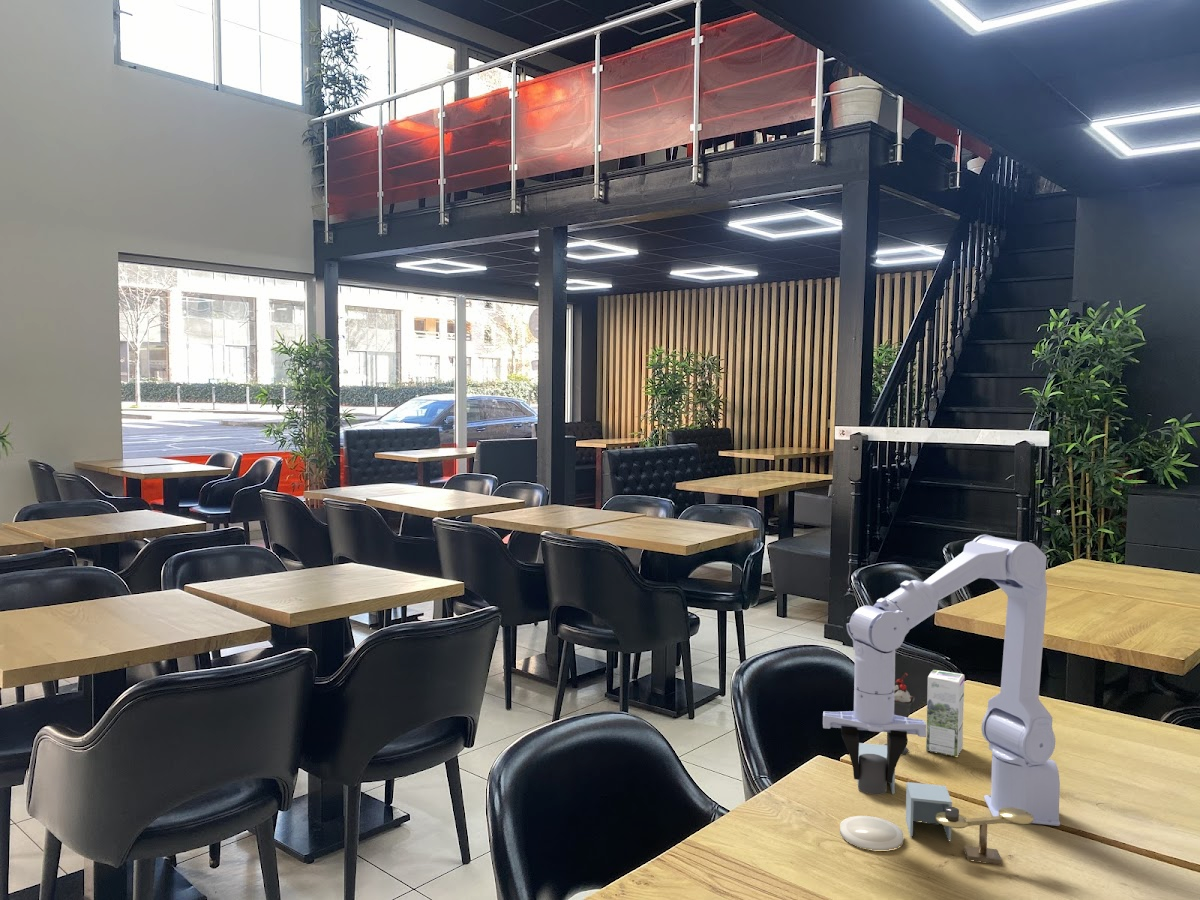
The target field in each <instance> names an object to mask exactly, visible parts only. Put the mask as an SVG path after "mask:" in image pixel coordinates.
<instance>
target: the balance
mask: <svg viewBox="0 0 1200 900" xmlns="http://www.w3.org/2000/svg"><path fill="white" fill-rule="evenodd" d="M936 821H937V822H938V823H940V824H942V826H943V825H944V826H947V827H950V828H951V829H965V828H968V827H972V826H973V827H974V826H979V829H978V833H979V835H978V836H979V837H978V839H979V840H978V846H969V845H964V847H963V850H965V851H964V854H965V853H966V854H965V856H967V857H966V858H968V859H967V861H968V860H974V861H981V862H980V863H982V862H986V863H985V864H990V863H994V864H993V865H999V864H1001V865H1002V864H1003V859H1002V857H1001V855H1000V853H999V850H998V849H997V848H989V847H988V844H987V843H988V825H995V824H996V825H997V824H1008V823H1014V824H1018V825H1019V824H1020V825H1028V824H1032V823H1031V822H1033V816H1032V815H1031V814H1030V813H1029V812H1027V811H1025V810H1022V809H1018V808H1012V807H1004V808H1001V809H999V816H994V817H993V816H985V817H984V816H983V817H973V818H967V817H966V816H964V815H962V814H960V809H959V808H957V807H955V806H952V807H946V809H945V812H940V813H937V814H936ZM974 861H973V862H974ZM1001 865H1000V866H1001Z"/></svg>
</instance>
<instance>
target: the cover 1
mask: <svg viewBox="0 0 1200 900" xmlns="http://www.w3.org/2000/svg"><path fill="white" fill-rule="evenodd" d="M862 754H876V755H880V756H883V757H884V758H886V759H887V745H884V744H874V743H864V742H859V756H860V755H862ZM859 756H858V761H859ZM895 775H896V769H895V770H894V774H893V778H892V783H889V786H890V790H891V793H892V794H893V795H895V793H896V792H895V787H896V782H895V780H896V777H895ZM856 781H857V784H858V780H856ZM857 788H858V787H857ZM858 791H860V792H862V791H861V790H860V789H859V788H858Z"/></svg>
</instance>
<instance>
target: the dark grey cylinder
mask: <svg viewBox="0 0 1200 900" xmlns="http://www.w3.org/2000/svg"><path fill="white" fill-rule="evenodd" d="M857 788H859V789H860V790H861V791H860V792H863V793H866V794H870V795H876V796H877V795H883V794H885V793H887V759H886V758H884V757H883V756H880V755H876V754H862V755H860V756H859V780H858V783H857ZM859 789H858V790H859Z"/></svg>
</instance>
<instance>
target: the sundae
mask: <svg viewBox="0 0 1200 900" xmlns="http://www.w3.org/2000/svg"><path fill="white" fill-rule="evenodd" d="M908 676H909V674H908V673H907V672H904V674H903V675H902V676H901V678H898V679H896V680H895V692H894V715H897V716H903V717H908V718H910V717H909V715H910V710H911V709H910V708H911V705H912V704H913V703H914V702H915V700H916V697H915V696H913V695H910V692H909V690H908V689H907V685H906V684H904V679H905V678H907V677H908ZM883 745H887V743H885V744H883ZM908 751H909V748H908V747H906V748H905V749H904V751H903V752H902V754H903V755H906V753H907V754H909V752H910V751H909V752H908Z"/></svg>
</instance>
